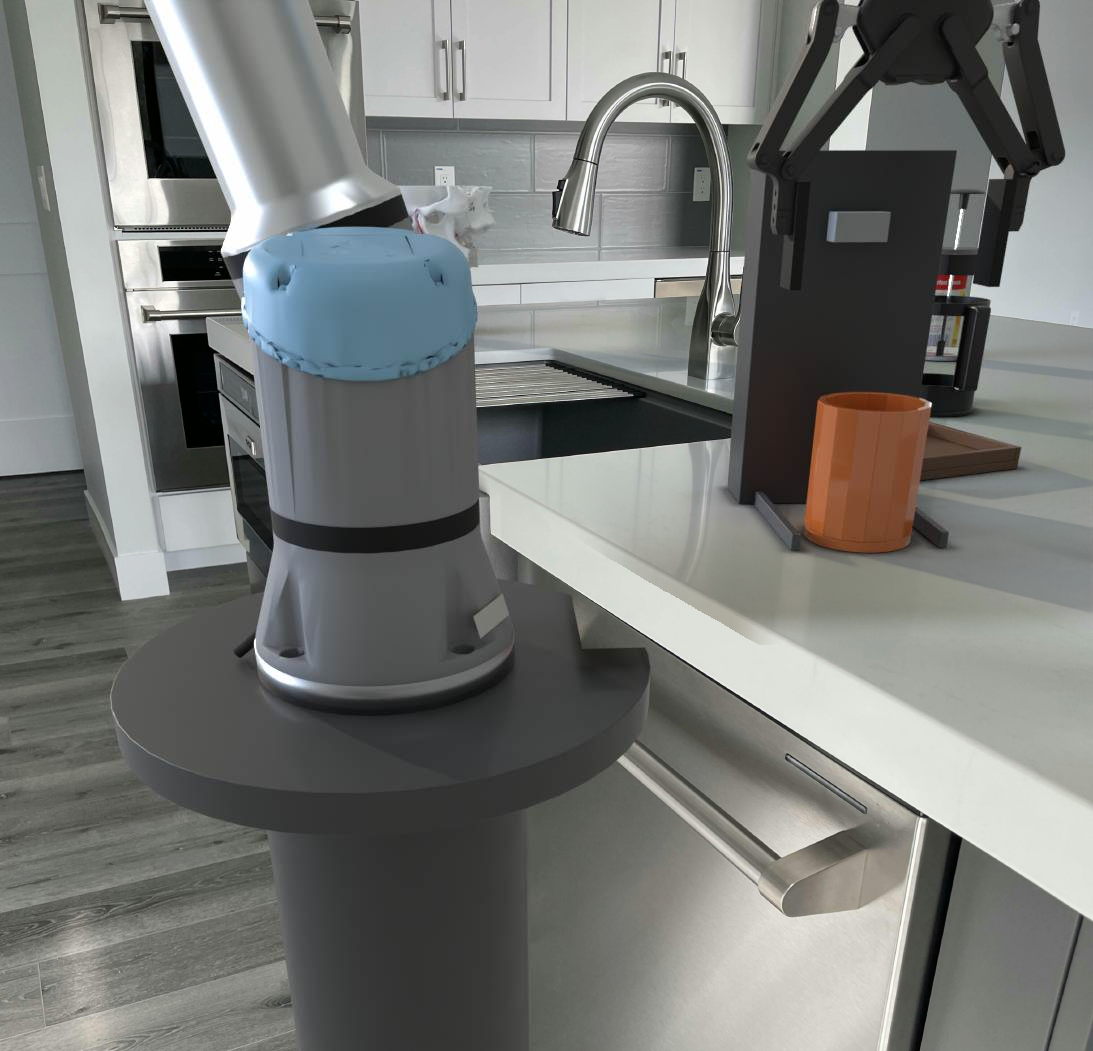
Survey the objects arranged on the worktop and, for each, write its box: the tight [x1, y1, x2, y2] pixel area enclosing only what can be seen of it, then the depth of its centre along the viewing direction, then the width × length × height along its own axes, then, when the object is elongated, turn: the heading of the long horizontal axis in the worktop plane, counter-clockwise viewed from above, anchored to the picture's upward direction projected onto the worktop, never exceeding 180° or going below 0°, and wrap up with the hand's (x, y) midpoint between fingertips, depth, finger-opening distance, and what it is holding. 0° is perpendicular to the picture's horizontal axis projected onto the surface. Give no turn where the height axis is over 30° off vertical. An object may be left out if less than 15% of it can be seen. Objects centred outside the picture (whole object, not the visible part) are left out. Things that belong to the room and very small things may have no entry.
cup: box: [803, 392, 932, 554], centre depth 79 cm, size 8×8×10 cm
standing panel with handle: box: [726, 149, 958, 551], centre depth 81 cm, size 14×18×26 cm
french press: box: [920, 188, 992, 418], centre depth 120 cm, size 12×9×23 cm
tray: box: [920, 421, 1022, 481], centre depth 103 cm, size 13×13×2 cm
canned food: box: [927, 275, 968, 348], centre depth 159 cm, size 8×8×12 cm
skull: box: [396, 185, 498, 269], centre depth 181 cm, size 25×19×23 cm
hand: (888, 287), depth 74 cm, fingers open, 13 cm apart
